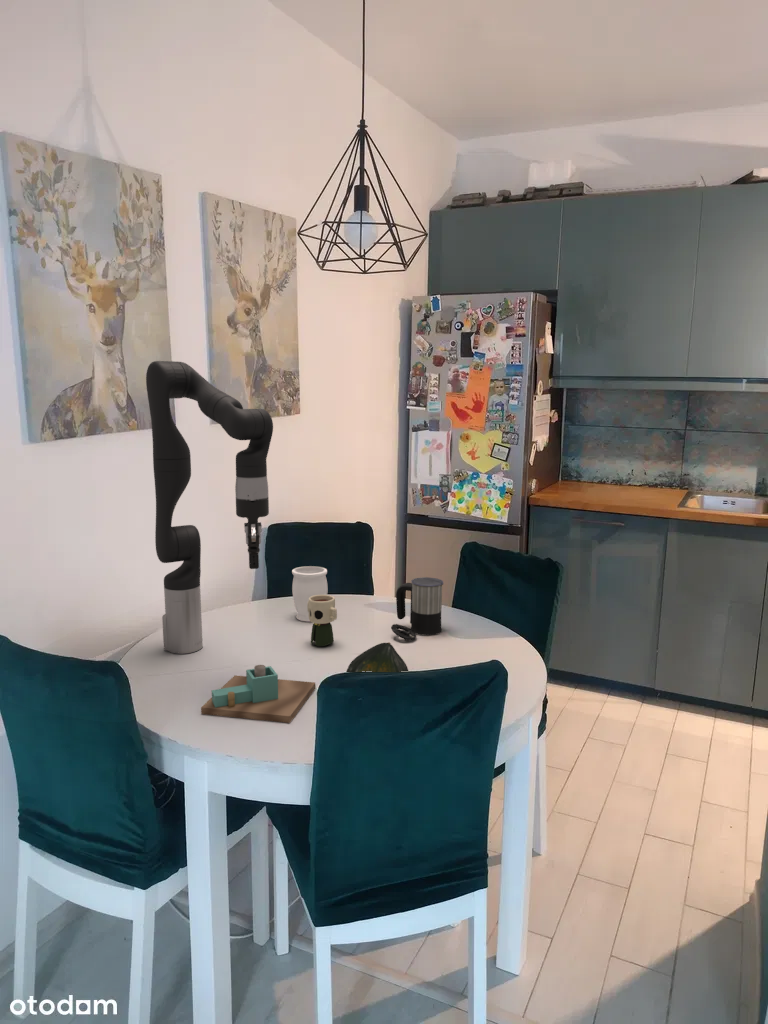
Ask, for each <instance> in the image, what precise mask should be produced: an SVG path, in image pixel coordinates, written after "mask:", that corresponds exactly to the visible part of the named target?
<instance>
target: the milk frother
mask: <svg viewBox="0 0 768 1024" xmlns="http://www.w3.org/2000/svg"><path fill="white" fill-rule="evenodd" d="M443 585H444V580H442V579H440V578H435V577H427V576H426V577H415V578H413V579H412V580H411V581H410V582H405V583H402V584H401V585H399V586H398V587H397V590H396V594H395V598H396V599H395V600H396V601H395V602H396V604H395V605H396V617H397V619H398V620H403V619H404V618H406V591H408V592H409V591H410V612H409V613H410V618H409V619H410V621H409V623H410V628H409V627H407V626H405V625H401V624H397V623H396V624H395V623H393V624H392V625H391V626H390V629H391V631H392V632H393V633H394V635H396V636H398V638H401V639H403V640H404V641H414V640H415V639H416V638H417V635H419V636H435V635H436V636H437V635H438V634H441V633H442V632H443V628H442V605H443V604H442V601H443V598H442V597H443Z"/></svg>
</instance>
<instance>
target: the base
mask: <svg viewBox="0 0 768 1024" xmlns="http://www.w3.org/2000/svg"><path fill="white" fill-rule="evenodd" d="M265 667H266V665H264V664H257V665H254V667H253V669H254V673H255V677H262V676H266V674H265ZM241 685H247V677H246V675H235V674H234V675H233V676H232V677H231V678H230V679H229V680H228V681H227V682H225V684H224V685H223V686H222V687H221V688H220V689H223V688H229V687H235V686H241ZM316 688H317V687H316V682H313V681H303V680H291V679H280V678H278V699H273V700H267V701H262V702H256V703H253V702H252V701H250V702H244V703H238V704H235V694H234V692H228V705H227V706H221V707H216V708H215V706H214V704H213V702H212V696H211V697H210V698H209V699H208V700H207V701H206V702H205V703H204V704H203V705H202V706H201V707H200V711H201V712H200V714H201V715H207V716H215V717H216V716H218V717H227V718H236V719H237V718H240V719H247V720H256V721H267V722H276V723H278V722H279V723H288V724H291V722H292V721H293V719H294V718H296V716H297V714H298V713H299V712H300V710H301V709H302V707H303V706H304V705H305V703H306V702H307V701H308V700H309V698H310V697H311V695H313V693H314V692H315V690H316Z"/></svg>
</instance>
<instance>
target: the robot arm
mask: <svg viewBox="0 0 768 1024" xmlns="http://www.w3.org/2000/svg"><path fill="white" fill-rule="evenodd" d="M145 375H146V376H145V384H146V393H147V400H148V407H149V408H148V409H149V414H150V421H151V422H150V423H151V434H152V435H151V436H152V460H153V461H152V466H153V476H154V489H155V490H154V493H155V529H154V530H155V531H154V532H155V537H154V538H155V539H154V540H155V551H156V556H157V558H158V560H159V562H161V563H162V564H170V563H176V562H177V563H178V562H182V563H181V564H180V566H178V567H176V569H175V570H173V571H171V572H168V573H167V574H166V575H165V576H164V578H163V592H164V593H163V594H164V596H163V597H164V609H165V610H164V612H165V613H164V614H162V618H161V619H162V639H163V641H162V642H163V651H167V652H170V653H172V654H183V655H184V654H191V653H194V652H197V651H199V650H201V649H202V648H203V645H204V644H203V621H202V599H201V598H202V597H201V596H202V595H201V571H202V570H201V554H202V553H201V552H202V549H201V548H202V547H201V536H200V535H201V534H200V531H199V529H198V528H197V526H196V525H194V524H186V525H176V526H172V521H173V516H174V515H173V514H174V511H175V509H176V506H177V504H178V502H179V500H180V498H181V497H182V495H183V493H184V491H185V490H186V488H187V486H188V484H189V482H190V479H191V476H192V464H191V463H192V462H191V460H192V459H191V450H190V447H189V445H188V443H187V441H186V439H185V438H184V437H183V435H182V433H181V431H180V430H179V428H178V427H177V425H176V423H175V421H174V419H173V416H172V410H171V403H170V399H173V400H174V399H182V398H184V399H191V400H194V401H195V402H197V405H198V408H199V410H200V411H201V413H202V414H203V415H204V416H206V417H208V418H209V419H210V420H212V421H214V422H216V423H217V424H219V425H220V427H221V428H222V429H223V431H224V432H226V434H227V435H228V436H229V437H231V438H232V439H234V440H238V441H249V442H248V445H247V447H246V448H245V449H243V450H240V451H238V452H237V453H236V455H235V485H234V486H235V487H234V488H235V489H234V490H235V514H236V517H238V518H242V519H247V522H244V524H243V525H244V526H243V528H244V533H245V543H246V545H247V553H248V565H249V566H248V568H249V569H250V570H257V569H259V568H260V566H259V565H260V563H259V562H260V560H259V557H260V556H259V554H260V551H261V549H260V544H261V542H262V539H261V537H262V536H261V535H262V534H261V533H262V531H263V530H262V529H263V528H262V526H263V525H262V521H260V522H259V518H264V517H265V518H266V517H268V515H269V514H270V512H269V511H270V509H269V508H270V506H269V505H270V503H269V484H268V483H269V482H268V471H267V470H268V469H267V468H268V467H267V457H268V453H269V451H270V446H271V442H272V437H273V432H274V423H273V419H272V416H271V414H270V413H269V412H268V411H267V410H266V409H263V408H244V406H243V405H242V403H241V402H240V401H239V400H237V399H236V398H235V397H233V396H231V395H229V394H227V393H226V392H224V391H222V390H220V389H219V388H217V387H216V386H214V385H213V384H211V383H210V382H209V381H208V380H207V379H206V378H204V376H202V375H201V374H200V373H199V372H198V371H197V370H195V369H194V368H193V367H192V366H190V365H189V364H187V363H186V362H182V361H169V360H166V361H165V360H155V361H152V362H150V364H149V365H148V366H147V369H146V374H145Z"/></svg>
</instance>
